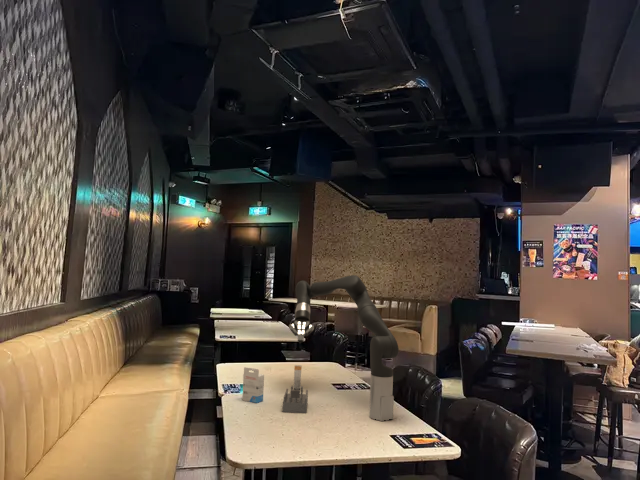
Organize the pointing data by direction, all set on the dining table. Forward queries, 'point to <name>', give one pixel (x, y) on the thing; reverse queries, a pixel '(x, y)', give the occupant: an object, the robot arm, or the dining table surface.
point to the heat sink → (295, 401)
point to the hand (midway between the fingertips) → (300, 342)
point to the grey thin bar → (297, 377)
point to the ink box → (252, 385)
